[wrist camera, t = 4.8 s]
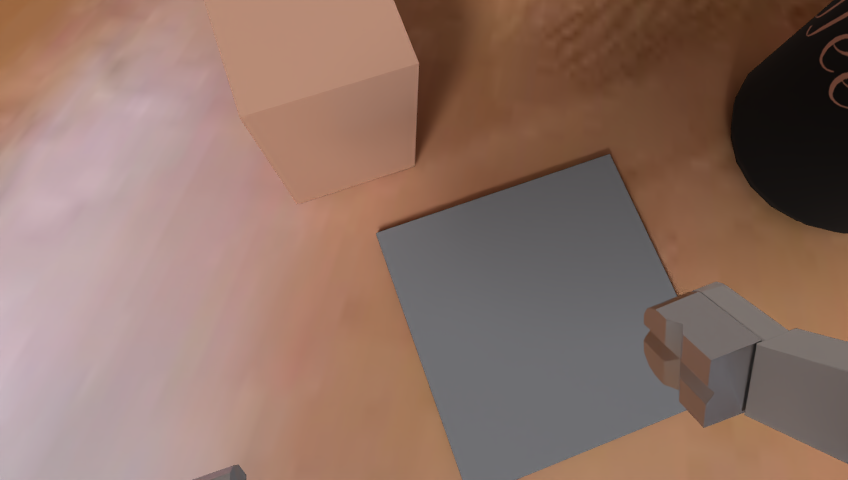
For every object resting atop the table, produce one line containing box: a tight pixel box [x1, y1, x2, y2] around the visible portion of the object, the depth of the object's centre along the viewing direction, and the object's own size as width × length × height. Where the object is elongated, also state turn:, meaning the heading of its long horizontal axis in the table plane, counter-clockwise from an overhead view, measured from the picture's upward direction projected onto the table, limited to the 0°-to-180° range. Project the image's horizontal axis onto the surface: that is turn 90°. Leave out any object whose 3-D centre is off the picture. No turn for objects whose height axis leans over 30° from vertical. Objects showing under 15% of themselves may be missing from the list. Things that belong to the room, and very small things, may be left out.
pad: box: [376, 154, 687, 480], centre depth 26 cm, size 13×13×1 cm
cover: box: [204, 0, 419, 204], centre depth 23 cm, size 6×6×10 cm
